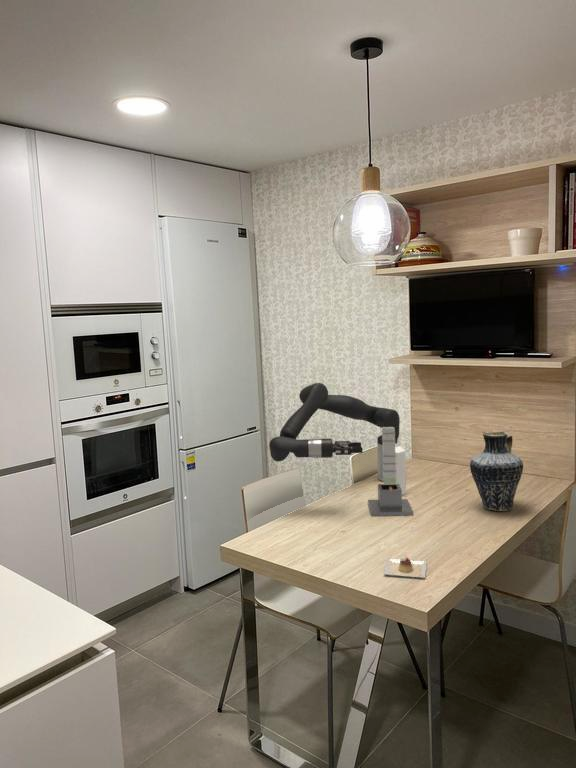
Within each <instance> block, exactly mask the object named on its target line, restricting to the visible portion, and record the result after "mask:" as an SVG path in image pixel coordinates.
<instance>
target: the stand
mask: <svg viewBox="0 0 576 768" xmlns="http://www.w3.org/2000/svg"><path fill="white" fill-rule="evenodd" d="M402 496H403V495H402V490H401V488H400V485H399V484H393V485H384V483H383V484H382V483H380V484H377V499H367V505H368V508H369V513H370V517H402V515H404V516H403V517H406V516H405V515H413V516H414V510H413V507H412V506H411V504H410V501H409V499H407V498H403V497H402Z"/></svg>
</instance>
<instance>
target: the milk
mask: <svg viewBox="0 0 576 768" xmlns="http://www.w3.org/2000/svg"><path fill="white" fill-rule="evenodd" d="M406 454H407V453H406V450H405V449H404V448H403V447H402V446H401V443H400V442H397V443H396V444H395V455H396V457H395V462H396V465H395V469H396V484H399V485H400V488H401V490H402V496H404V495H406V494H407V476H406V475H407V472H406V471H407V469H406V468H407V467H406V459H407V458H406ZM403 494H404V495H403Z"/></svg>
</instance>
